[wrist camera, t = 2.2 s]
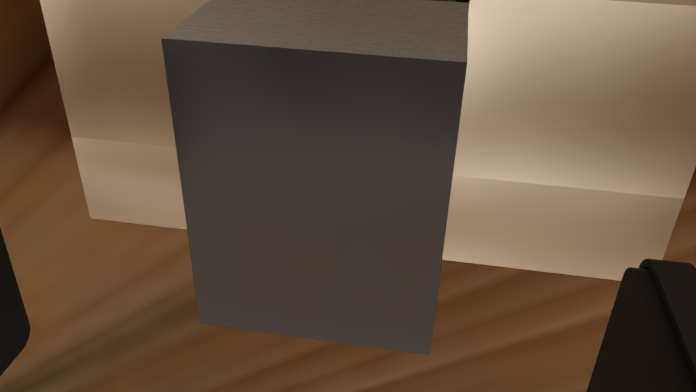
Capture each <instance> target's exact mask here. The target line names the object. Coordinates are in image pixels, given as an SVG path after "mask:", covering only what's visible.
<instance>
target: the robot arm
mask: <svg viewBox="0 0 696 392" xmlns="http://www.w3.org/2000/svg"><path fill="white" fill-rule="evenodd" d="M29 334H30V325H29V321H28V317H27V314H26V311H25V308H24V304H23V301H22V298H21V294H20V291H19V288H18V285H17V281H16V278H15V275H14V272H13V268H12V265H11V262H10V258H9V255H8V252H7V249H6V245H5V242H4V239H3V236H2V232H1V229H0V376H1V375H2V373H3V372H4V371H5V370H6V369H7V367H8V366H9V365H10V364H11V363H12V361H13V360H14V359H15V358H16V357H17V356H18V354H19V353H20V352H21V351H22V350H23V348H24V347H25V345H26V343H27V341H28V338H29ZM587 392H696V268H695V267H694V266H693V265H692V264H690V263H683V262H674V261H665V260H657V259H648V258H647V259H644V260H643V261H642V262H641V264H640V266H639V268H632V267H629V268H627V269H626V270H625V272H624V275H623V277H622V281H621V284H620V287H619V290H618V293H617V297H616V300H615V303H614V306H613V309H612V313H611V316H610V319H609V322H608V325H607V329H606V332H605V335H604V338H603V341H602V344H601V348H600V351H599V354H598V357H597V360H596V364H595V367H594V370H593V373H592V376H591V380H590V383H589V386H588V389H587Z"/></svg>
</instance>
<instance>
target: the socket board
mask: <svg viewBox="0 0 696 392" xmlns="http://www.w3.org/2000/svg"><path fill="white" fill-rule="evenodd" d="M208 1H210V0H40V3H41V8H42V12H43V16H44V21H45V25H46V29H47V34H48V38H49V42H50V46H51V51H52V55H53V59H54V64H55V68H56V72H57V77H58V81H59V85H60V90H61V94H62V98H63V102H64V107H65V111H66V115H67V120H68V124H69V128H70V133H71V137H72V141H73V145H74V150H75V154H76V158H77V163H78V167H79V171H80V176H81V180H82V184H83V189H84V193H85V197H86V201H87V206H88V210H89V214H90V218H95V219H103V220H112V221H120V222H128V223H137V224H145V225H154V226H162V227H171V228H179V229H187V225H186V217H185V210H184V203H183V195H182V188H181V181H180V173H179V166H178V159H177V151H176V144H175V137H174V129H173V122H172V115H171V107H170V100H169V93H168V85H167V78H166V71H165V63H164V56H163V49H162V41H161V38H162V37H163V36H165V35H166V34H167V33H168V32H170V31H171V30H172V29H174V28H175V27H176V26H177V25H179V24H180V23H181V22H183V21H184V20H185V19H186V18H188V17H189V16H190V15H192V14H193V13H194V12H195V11H197V10H198V9H199V8H201V7H202V6H203V5H204V4H206V3H207V2H208ZM456 2H463V3H469V5H468V53H467V69H466V76H465V84H464V92H463V100H462V108H461V116H460V123H459V131H458V139H457V147H456V155H455V163H454V170H453V178H452V186H451V194H450V202H449V210H448V217H447V225H446V233H445V241H444V249H443V256H442V260H450V261H459V262H467V263H476V264H484V265H493V266H501V267H510V268H518V269H526V270H535V271H543V272H552V273H560V274H569V275H577V276H586V277H594V278H603V279H611V280H620V281H622V277H623V275H624V272H625V270H626V269H627V268H629V267H632V268H639V266H640V264H641V262H642V261H643V260H644V259H647V258H648V259H657V260H662V259H663V256H664V253H665V250H666V248H667V245H668V242H669V239H670V237H671V234H672V231H673V228H674V225H675V223H676V220H677V217H678V214H679V212H680V209H681V206H682V203H683V200H684V198H685V195H686V192H687V189H688V187H689V184H690V181H691V178H692V175H693V173H694V170H695V167H696V0H456Z"/></svg>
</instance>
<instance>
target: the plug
mask: <svg viewBox="0 0 696 392" xmlns="http://www.w3.org/2000/svg"><path fill="white" fill-rule="evenodd" d="M468 5H469V3H463V2H456V0H210V1H208V2H207V3H206V4H204V5H203V6H202V7H201V8H199V9H198V10H197V11H195V12H194V13H193V14H192V15H190V16H189V17H188V18H186V19H185V20H184V21H183V22H181V23H180V24H179V25H177V26H176V27H175V28H174V29H172V30H171V31H170V32H168V33H167V34H166V35H165V36H163V37H162V38H161V41H162V49H163V56H164V63H165V71H166V78H167V85H168V93H169V100H170V107H171V115H172V122H173V129H174V137H175V144H176V151H177V159H178V166H179V173H180V181H181V188H182V195H183V203H184V210H185V217H186V225H187V232H188V239H189V247H190V254H191V261H192V269H193V276H194V283H195V291H196V298H197V305H198V313H199V320H200V324H208V325H215V326H222V327H229V328H237V329H244V330H251V331H259V332H266V333H273V334H280V335H288V336H295V337H302V338H310V339H317V340H324V341H331V342H339V343H346V344H353V345H361V346H368V347H375V348H382V349H390V350H397V351H404V352H412V353H419V354H426V355H430V350H431V343H432V335H433V327H434V319H435V311H436V303H437V296H438V288H439V280H440V272H441V264H442V256H443V249H444V241H445V233H446V225H447V217H448V210H449V202H450V194H451V186H452V178H453V170H454V163H455V155H456V147H457V139H458V131H459V123H460V116H461V108H462V100H463V92H464V84H465V76H466V69H467V53H468Z"/></svg>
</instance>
